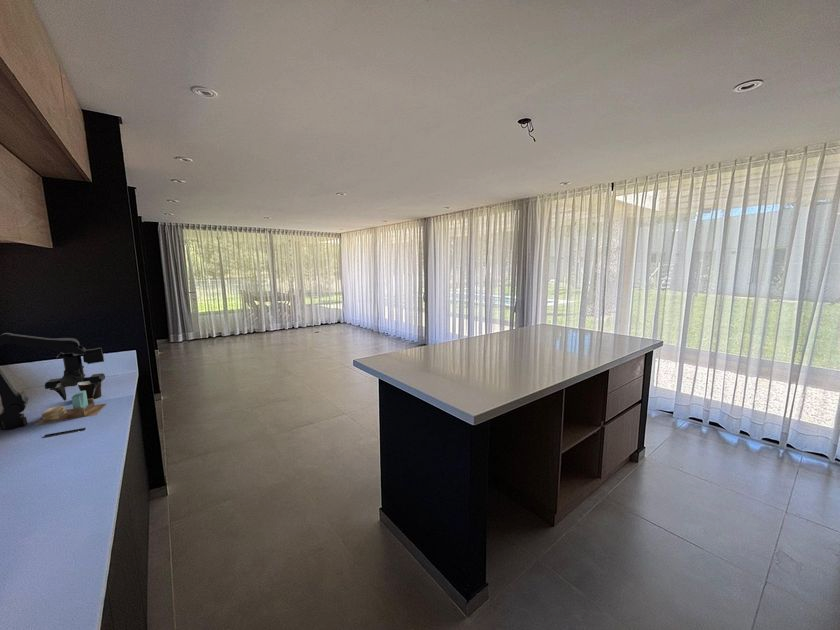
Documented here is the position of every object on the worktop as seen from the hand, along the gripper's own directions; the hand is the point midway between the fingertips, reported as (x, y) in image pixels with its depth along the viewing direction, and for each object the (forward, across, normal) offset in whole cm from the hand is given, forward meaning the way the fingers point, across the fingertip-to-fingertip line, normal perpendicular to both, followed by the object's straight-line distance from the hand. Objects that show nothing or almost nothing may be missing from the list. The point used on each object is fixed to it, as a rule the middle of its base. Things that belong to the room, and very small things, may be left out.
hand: (79, 398), depth 154 cm
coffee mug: (+8, -2, +18) cm, 20 cm away
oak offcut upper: (+5, -9, 0) cm, 11 cm away
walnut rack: (+8, -3, 0) cm, 9 cm away
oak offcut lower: (+7, -9, 0) cm, 11 cm away
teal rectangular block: (+7, 0, 0) cm, 7 cm away
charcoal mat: (+8, 0, -14) cm, 16 cm away
